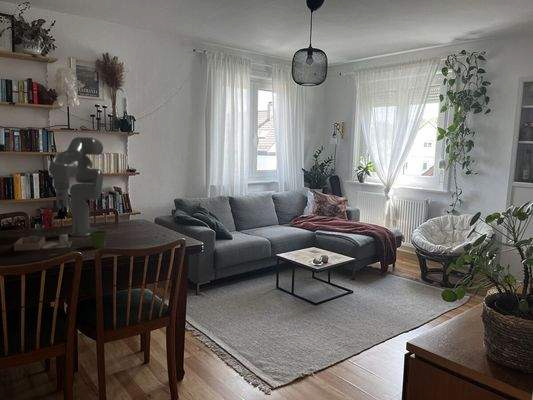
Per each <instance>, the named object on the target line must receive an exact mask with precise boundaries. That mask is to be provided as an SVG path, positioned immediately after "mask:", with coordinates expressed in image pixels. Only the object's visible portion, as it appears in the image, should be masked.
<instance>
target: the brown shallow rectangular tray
mask: <svg viewBox="0 0 533 400" xmlns="http://www.w3.org/2000/svg"><path fill="white" fill-rule="evenodd" d="M28 237H29V236H28ZM28 237H27V236H26V237H20V238H19V239H18V240H17V241H15V243H14V244H13V251H14V252H15V251H16V252H19V251H21V252H22V251H37V250H38V251H39V250H42V249H41V247H42V246H43V245H44V243H45V242H46V237H45V236H37V243H29V239H28Z"/></svg>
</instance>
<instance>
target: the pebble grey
mask: <svg viewBox="0 0 533 400" xmlns="http://www.w3.org/2000/svg"><path fill="white" fill-rule="evenodd" d="M59 241H60V246H67V245H68V241H69V234H67V233H66V234H63V233H62V234H59Z"/></svg>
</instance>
